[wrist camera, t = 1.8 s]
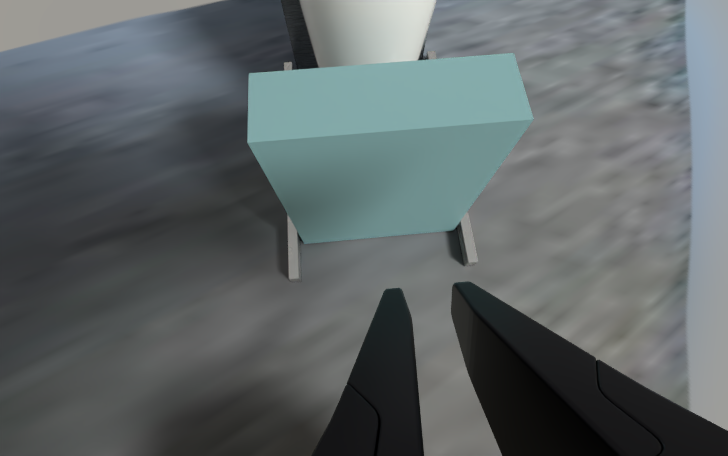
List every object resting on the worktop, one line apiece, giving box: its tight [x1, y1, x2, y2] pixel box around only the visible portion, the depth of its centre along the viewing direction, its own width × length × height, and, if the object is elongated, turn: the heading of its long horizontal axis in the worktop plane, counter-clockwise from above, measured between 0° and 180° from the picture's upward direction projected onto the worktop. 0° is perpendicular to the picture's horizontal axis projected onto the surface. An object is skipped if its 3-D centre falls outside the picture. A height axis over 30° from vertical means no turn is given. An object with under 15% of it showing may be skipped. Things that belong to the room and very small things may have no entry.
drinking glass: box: [299, 0, 437, 68], centre depth 20 cm, size 7×7×15 cm
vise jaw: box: [247, 53, 534, 244], centre depth 18 cm, size 3×10×12 cm, turn 95°
